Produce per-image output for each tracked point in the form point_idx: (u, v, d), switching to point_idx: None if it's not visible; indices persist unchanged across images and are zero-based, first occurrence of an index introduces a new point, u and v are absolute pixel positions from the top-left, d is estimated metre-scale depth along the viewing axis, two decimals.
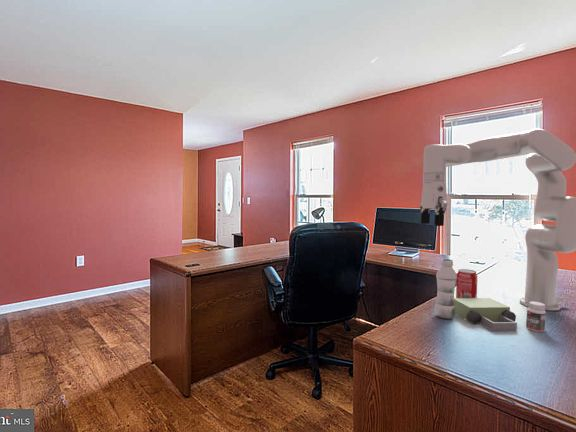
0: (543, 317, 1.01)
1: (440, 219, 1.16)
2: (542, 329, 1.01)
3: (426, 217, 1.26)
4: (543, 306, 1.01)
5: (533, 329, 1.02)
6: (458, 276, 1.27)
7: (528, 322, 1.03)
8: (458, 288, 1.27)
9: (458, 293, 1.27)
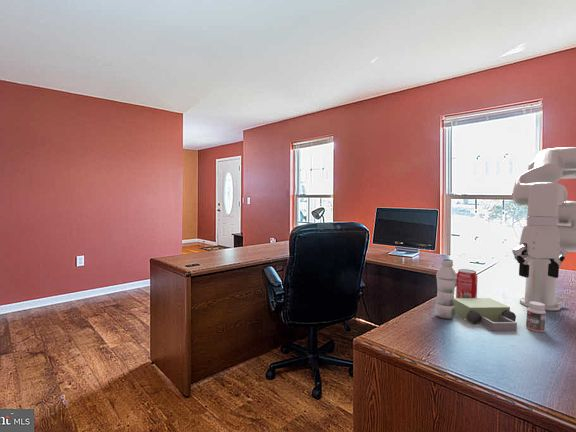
0: (543, 317, 1.01)
1: None
2: (542, 329, 1.01)
3: None
4: (543, 306, 1.01)
5: (533, 329, 1.02)
6: (458, 276, 1.27)
7: (528, 322, 1.03)
8: (458, 288, 1.27)
9: (458, 293, 1.27)
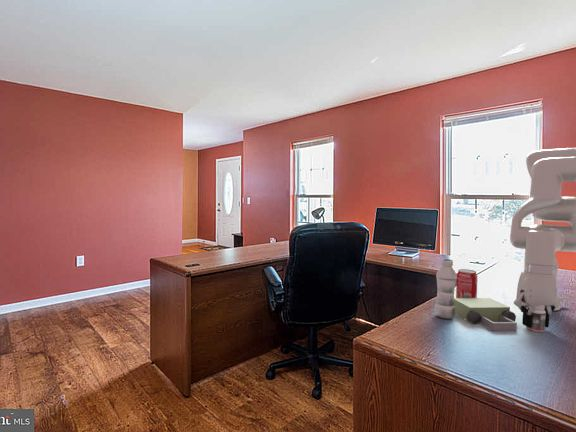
0: (543, 317, 1.01)
1: None
2: (542, 329, 1.01)
3: None
4: (543, 306, 1.01)
5: (533, 329, 1.02)
6: (458, 276, 1.27)
7: None
8: (458, 288, 1.27)
9: (458, 293, 1.27)
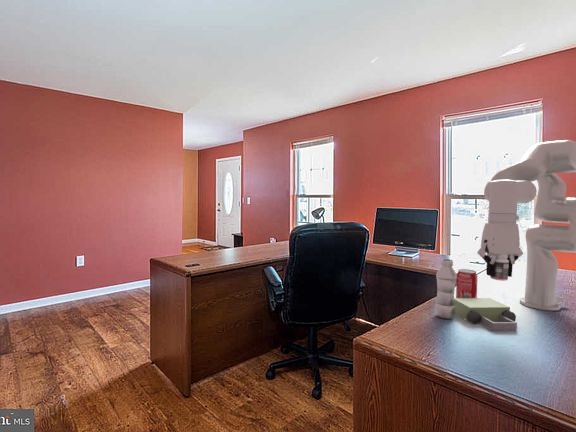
0: (506, 266, 1.02)
1: None
2: (505, 278, 1.02)
3: None
4: (506, 255, 1.02)
5: (496, 278, 1.03)
6: (458, 276, 1.27)
7: None
8: (458, 288, 1.27)
9: (458, 293, 1.27)
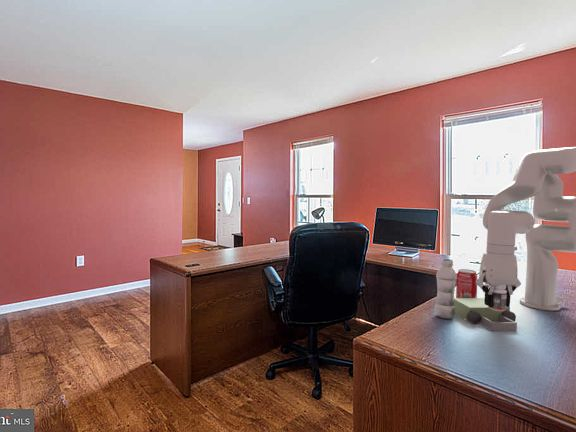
0: (504, 297, 1.02)
1: None
2: (503, 308, 1.03)
3: None
4: (504, 286, 1.03)
5: (494, 309, 1.03)
6: (458, 276, 1.27)
7: None
8: (458, 288, 1.27)
9: (458, 293, 1.27)
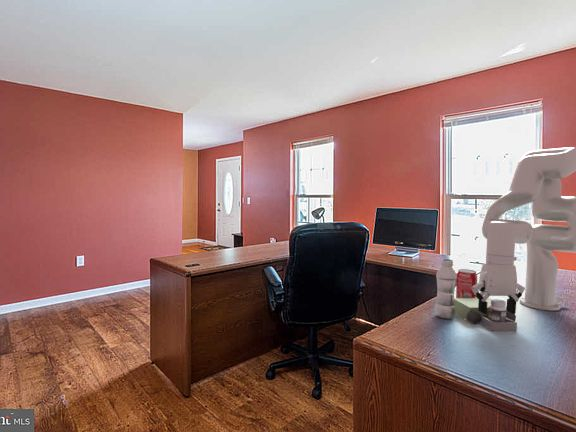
0: (503, 314, 1.03)
1: None
2: None
3: None
4: (503, 303, 1.03)
5: None
6: (458, 276, 1.27)
7: (489, 319, 1.05)
8: (458, 288, 1.27)
9: (458, 293, 1.27)
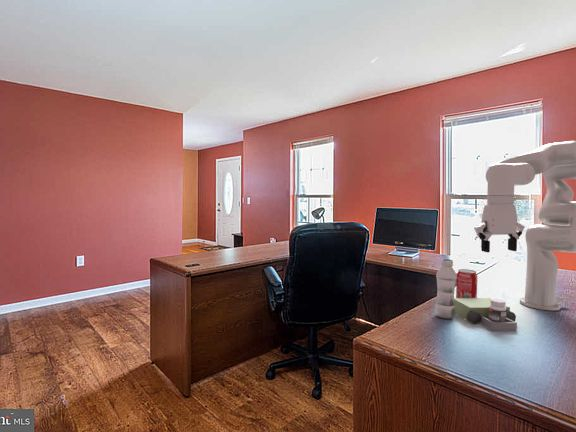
0: (503, 314, 1.03)
1: None
2: None
3: None
4: (503, 303, 1.03)
5: None
6: (458, 276, 1.27)
7: (489, 319, 1.05)
8: (458, 288, 1.27)
9: (458, 293, 1.27)
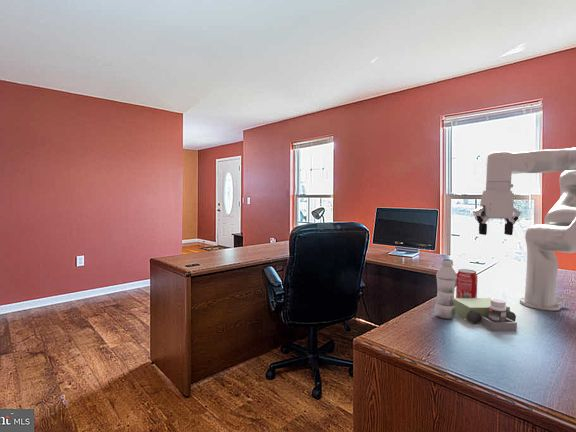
0: (503, 314, 1.03)
1: None
2: None
3: None
4: (503, 303, 1.03)
5: None
6: (458, 276, 1.27)
7: (489, 319, 1.05)
8: (458, 288, 1.27)
9: (458, 293, 1.27)
